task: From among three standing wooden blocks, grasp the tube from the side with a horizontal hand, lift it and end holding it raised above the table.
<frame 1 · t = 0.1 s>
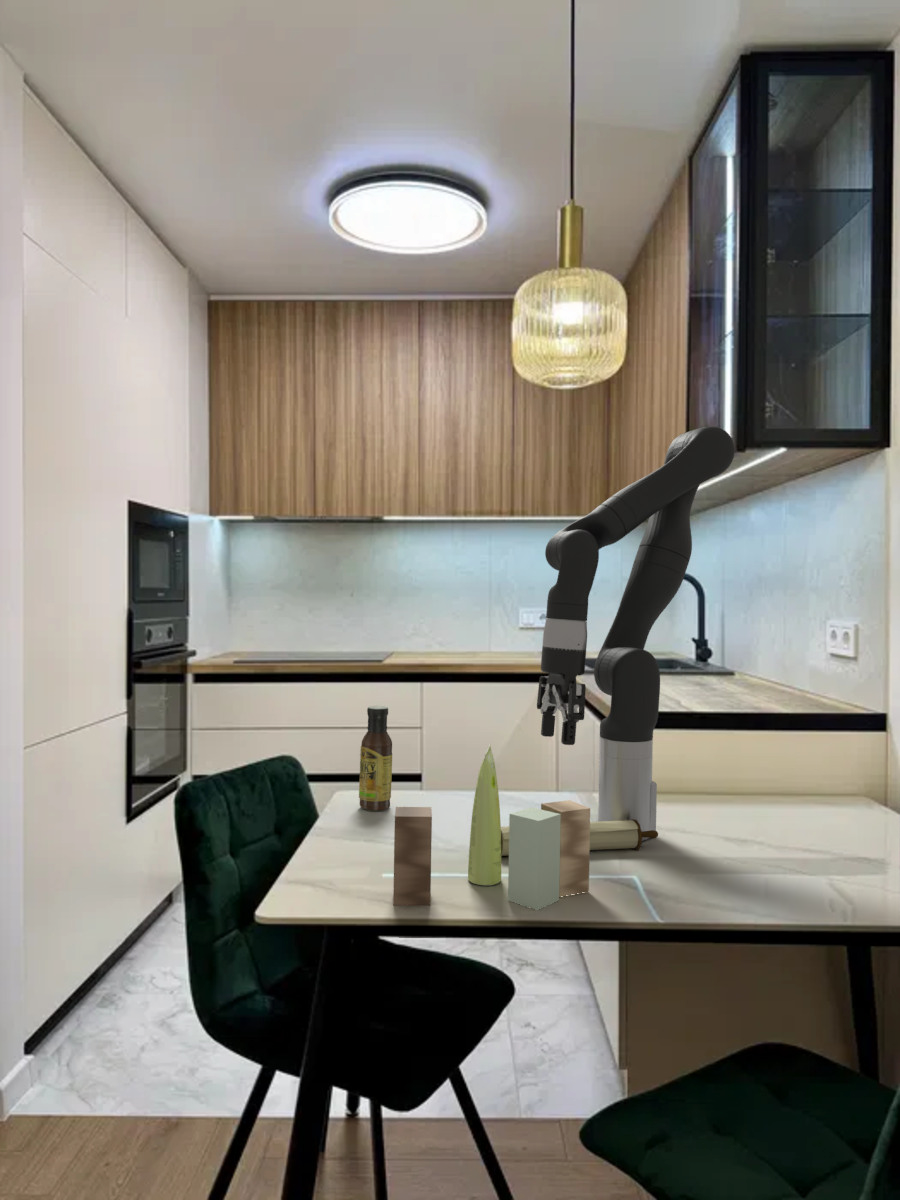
hand: (557, 740, 141), 17 cm above the table, tool pointing down, fingers open, 8 cm apart
walnut block: (411, 898, 113), on the table
oak block: (563, 889, 118), on the table
sauce bottle: (375, 809, 160), on the table
sage block: (533, 900, 113), on the table
rolling pin: (567, 854, 135), on the table
tube: (484, 882, 120), on the table
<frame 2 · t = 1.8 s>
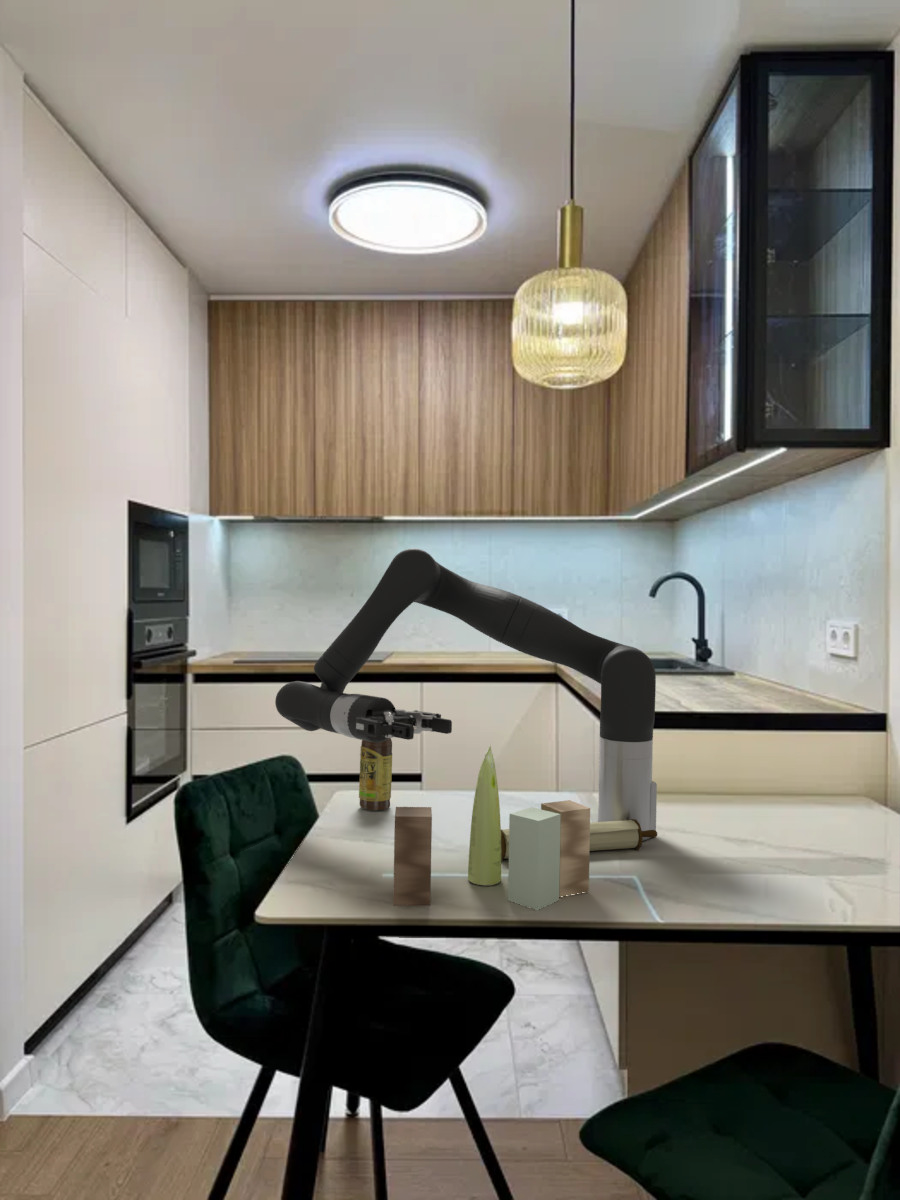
hand: (431, 729, 128), 21 cm above the table, tool horizontal, fingers open, 8 cm apart
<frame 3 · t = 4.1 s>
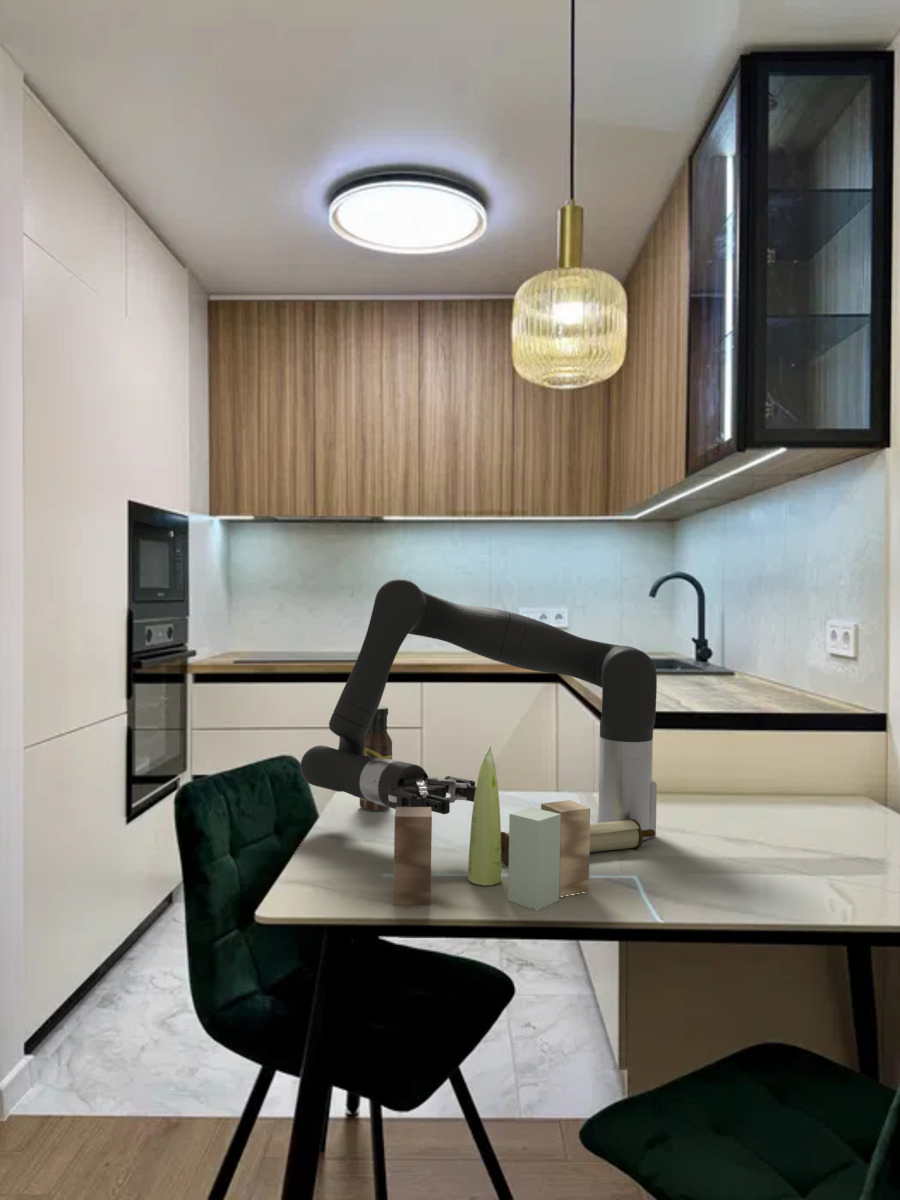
hand: (467, 801, 123), 11 cm above the table, tool horizontal, fingers open, 8 cm apart
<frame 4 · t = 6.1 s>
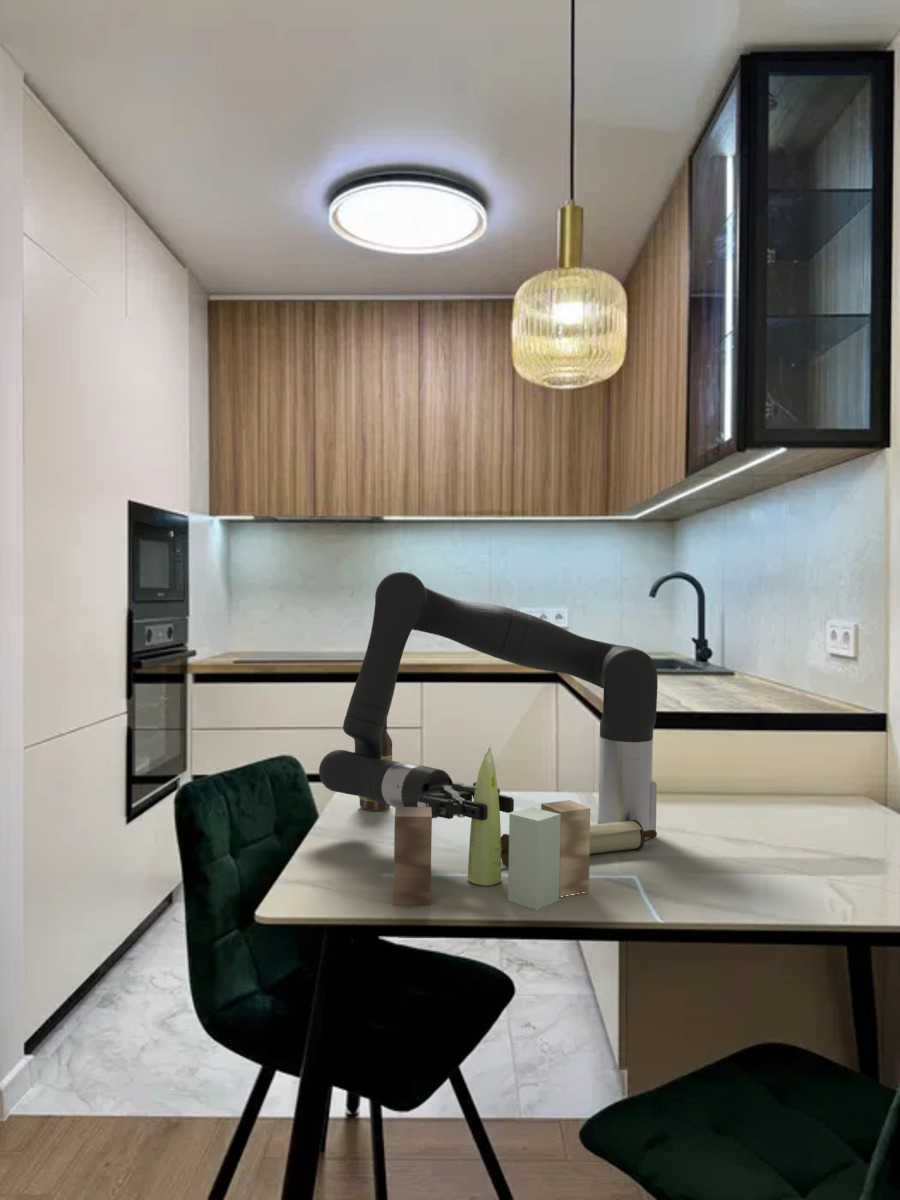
hand: (499, 809, 119), 11 cm above the table, tool horizontal, fingers closed on tube, 5 cm apart
tube: (484, 882, 120), on the table, touching gripper
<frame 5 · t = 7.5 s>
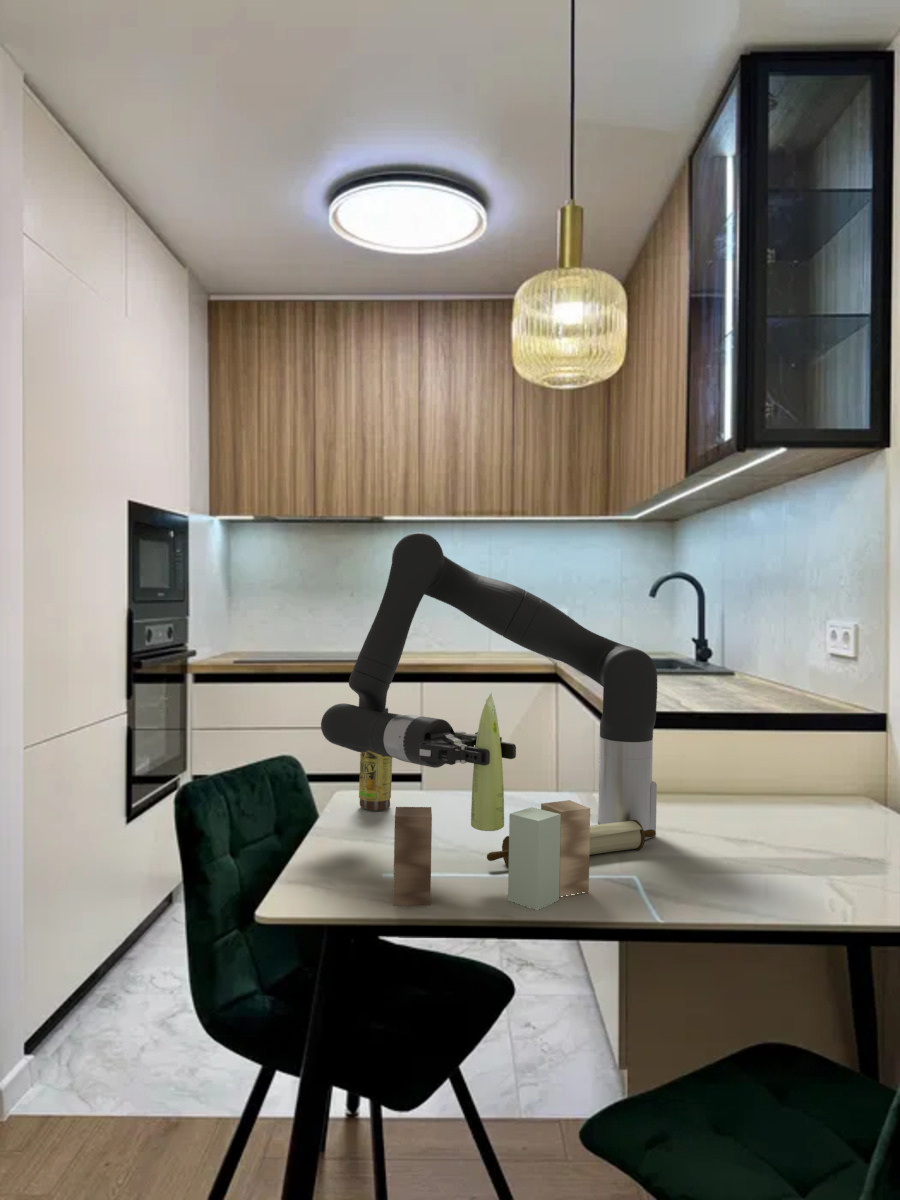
hand: (501, 754, 118), 19 cm above the table, tool horizontal, fingers closed on tube, 5 cm apart
tube: (487, 828, 120), point 8 cm above the table, touching gripper
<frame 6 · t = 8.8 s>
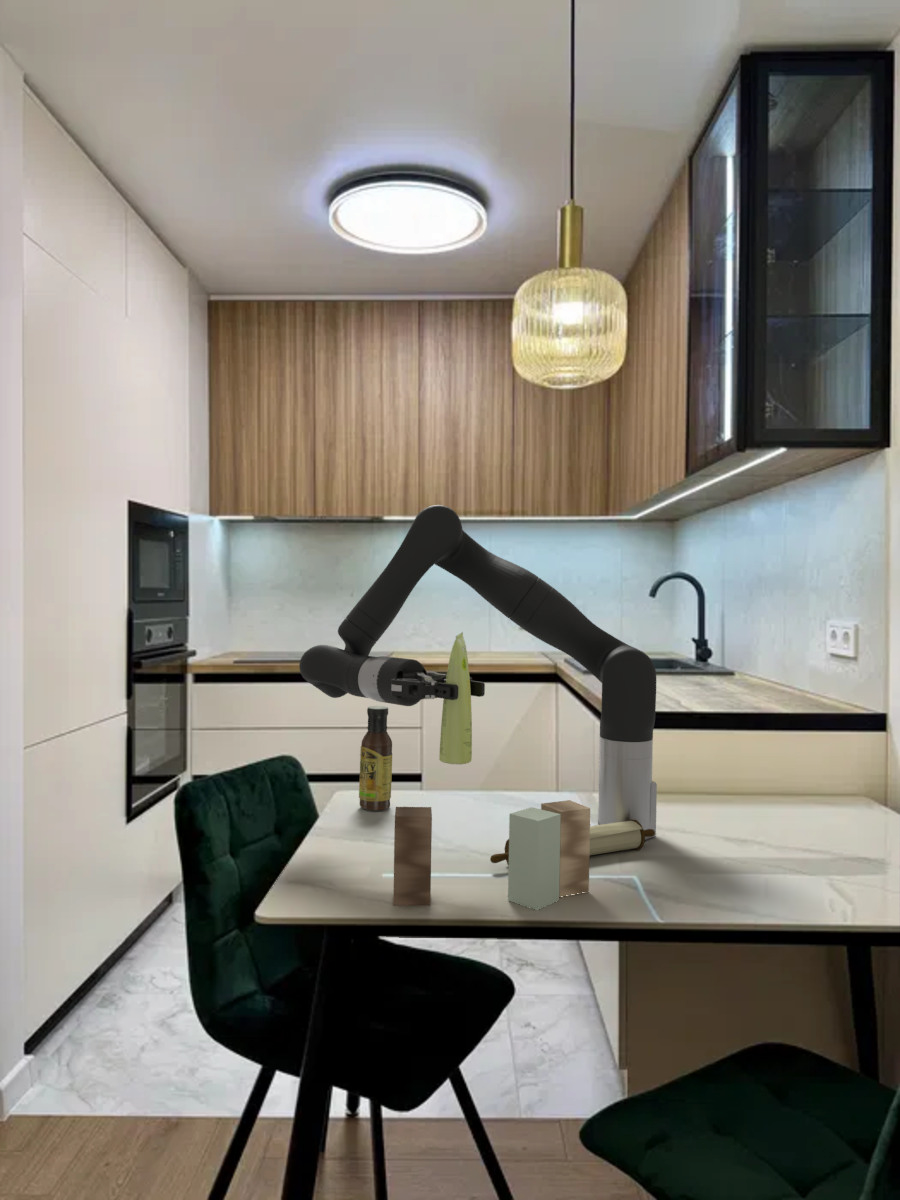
hand: (469, 691, 122), 28 cm above the table, tool horizontal, fingers closed on tube, 5 cm apart
tube: (455, 763, 124), point 16 cm above the table, touching gripper
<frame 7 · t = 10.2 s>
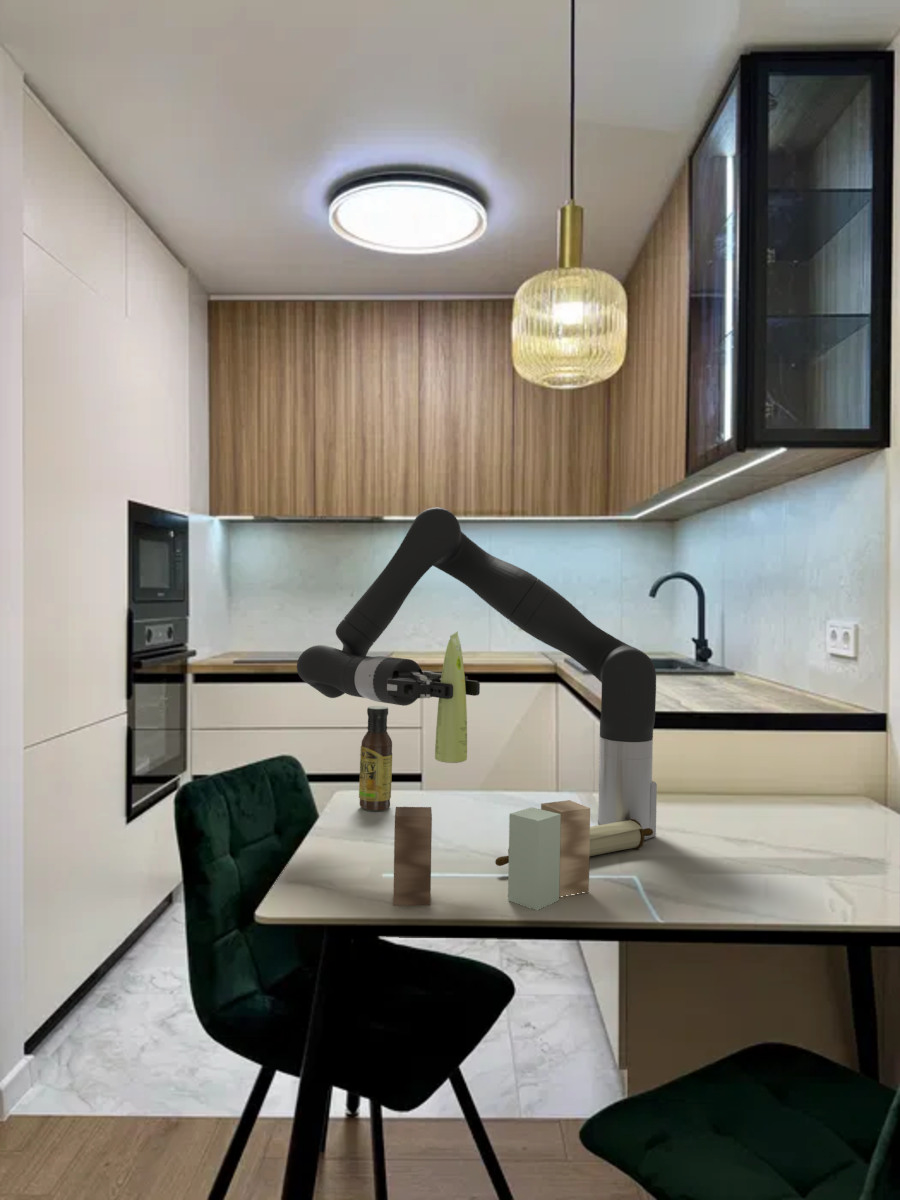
hand: (464, 690, 123), 28 cm above the table, tool horizontal, fingers closed on tube, 5 cm apart
tube: (450, 761, 125), point 16 cm above the table, touching gripper
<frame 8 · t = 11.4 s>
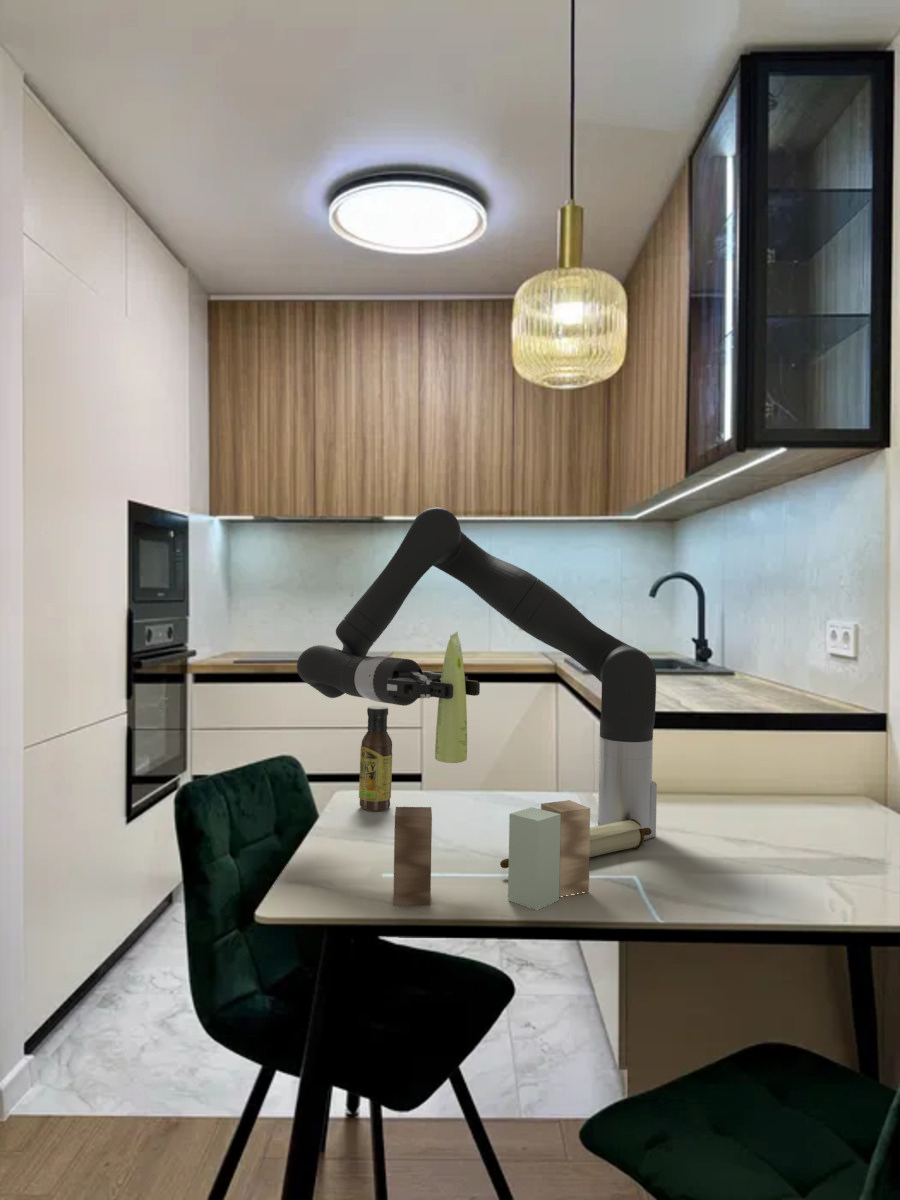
hand: (464, 690, 123), 28 cm above the table, tool horizontal, fingers closed on tube, 5 cm apart
tube: (450, 761, 125), point 16 cm above the table, touching gripper
at the end: the gripper is holding tube; tube point 16.5 cm above the table; sage block moved 0.0 cm from its start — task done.
